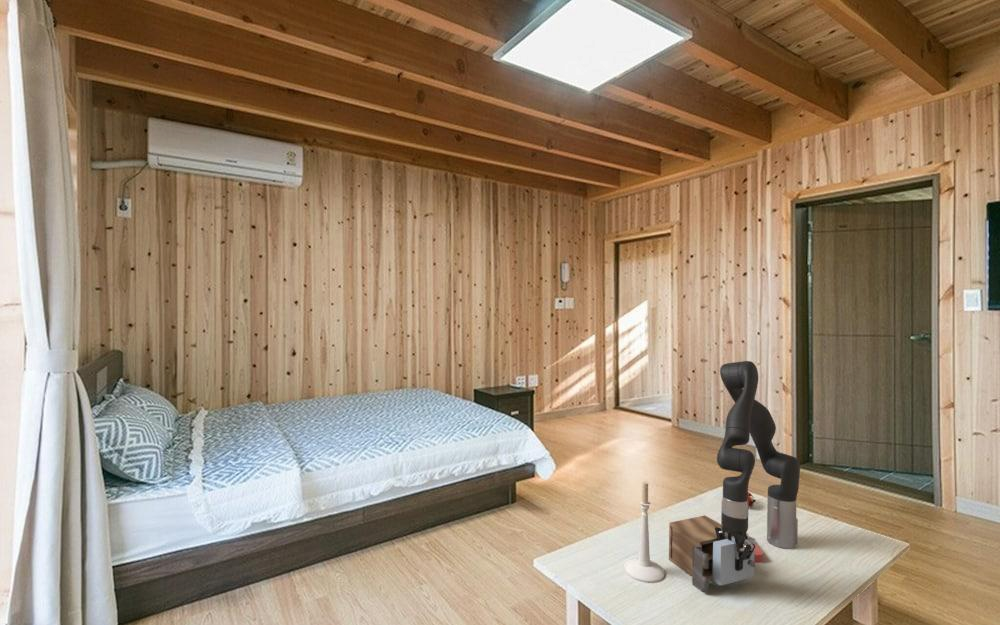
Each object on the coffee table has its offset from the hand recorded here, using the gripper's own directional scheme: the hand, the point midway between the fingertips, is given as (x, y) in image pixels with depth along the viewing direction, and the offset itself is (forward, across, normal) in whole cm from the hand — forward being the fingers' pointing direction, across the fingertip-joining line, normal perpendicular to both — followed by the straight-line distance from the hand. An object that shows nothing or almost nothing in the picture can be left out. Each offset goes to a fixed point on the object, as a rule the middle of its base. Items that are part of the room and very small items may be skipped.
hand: (733, 566), depth 146 cm
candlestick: (+7, -17, -21) cm, 28 cm away
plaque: (+7, -18, +19) cm, 27 cm away
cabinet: (+6, -10, -2) cm, 12 cm away
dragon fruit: (+5, -43, +53) cm, 69 cm away
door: (+4, 0, 0) cm, 4 cm away
